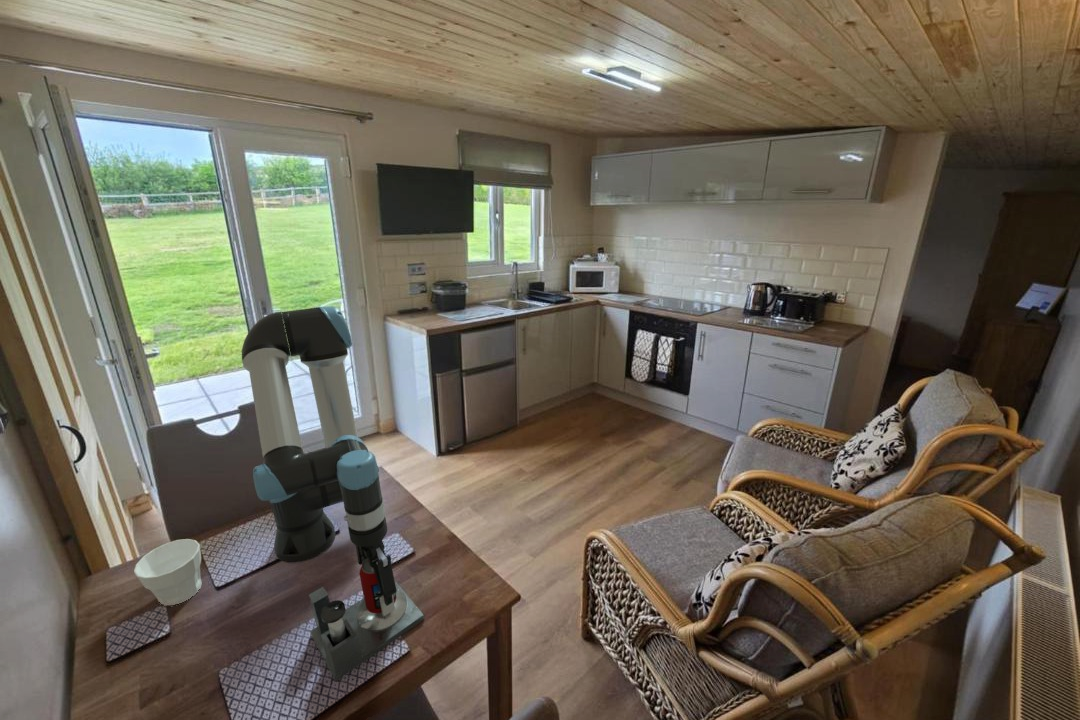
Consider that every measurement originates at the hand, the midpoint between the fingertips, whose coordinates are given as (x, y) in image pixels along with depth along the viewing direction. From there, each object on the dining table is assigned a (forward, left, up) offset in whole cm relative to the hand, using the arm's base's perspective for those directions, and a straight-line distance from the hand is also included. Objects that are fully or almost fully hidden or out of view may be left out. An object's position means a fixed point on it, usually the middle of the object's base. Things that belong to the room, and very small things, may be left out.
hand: (381, 601), depth 103 cm
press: (+1, -4, -4) cm, 6 cm away
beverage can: (0, 0, -1) cm, 1 cm away
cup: (-41, -33, -4) cm, 53 cm away
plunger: (+5, -11, +2) cm, 12 cm away
